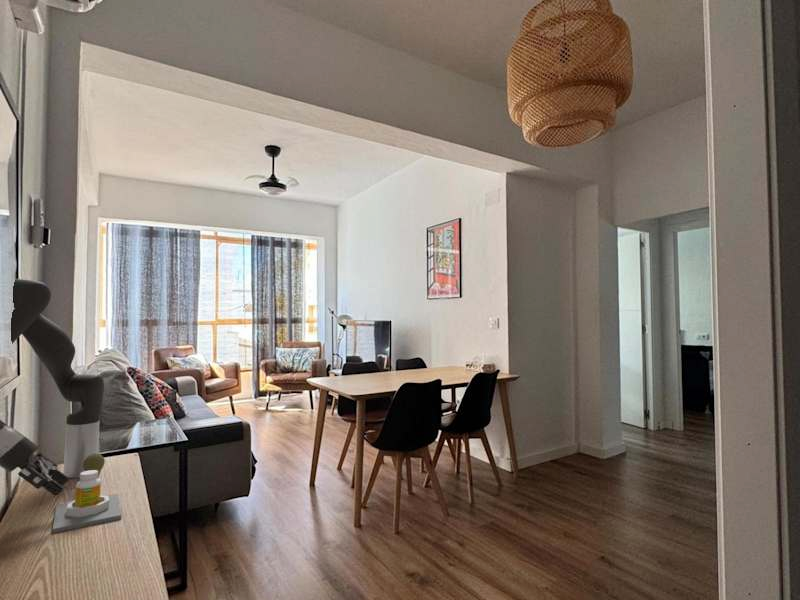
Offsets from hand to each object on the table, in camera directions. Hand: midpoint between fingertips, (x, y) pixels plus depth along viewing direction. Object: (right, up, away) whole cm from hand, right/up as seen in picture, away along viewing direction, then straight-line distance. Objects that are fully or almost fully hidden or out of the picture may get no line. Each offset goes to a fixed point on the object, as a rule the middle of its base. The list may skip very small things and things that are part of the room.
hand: (63, 487), depth 114 cm
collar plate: (+5, -8, +2) cm, 10 cm away
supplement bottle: (+5, -7, +2) cm, 9 cm away
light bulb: (-8, -9, +22) cm, 25 cm away
